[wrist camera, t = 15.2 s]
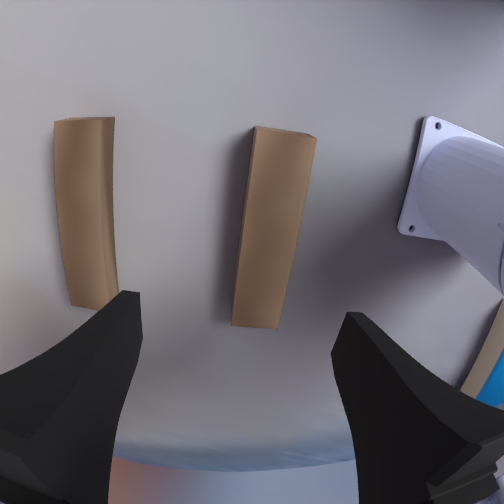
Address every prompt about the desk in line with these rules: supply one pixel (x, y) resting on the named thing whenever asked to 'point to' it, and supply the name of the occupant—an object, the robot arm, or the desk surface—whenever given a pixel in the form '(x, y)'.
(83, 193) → the pair of brown bars
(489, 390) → the book
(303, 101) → the desk surface
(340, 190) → the desk surface
